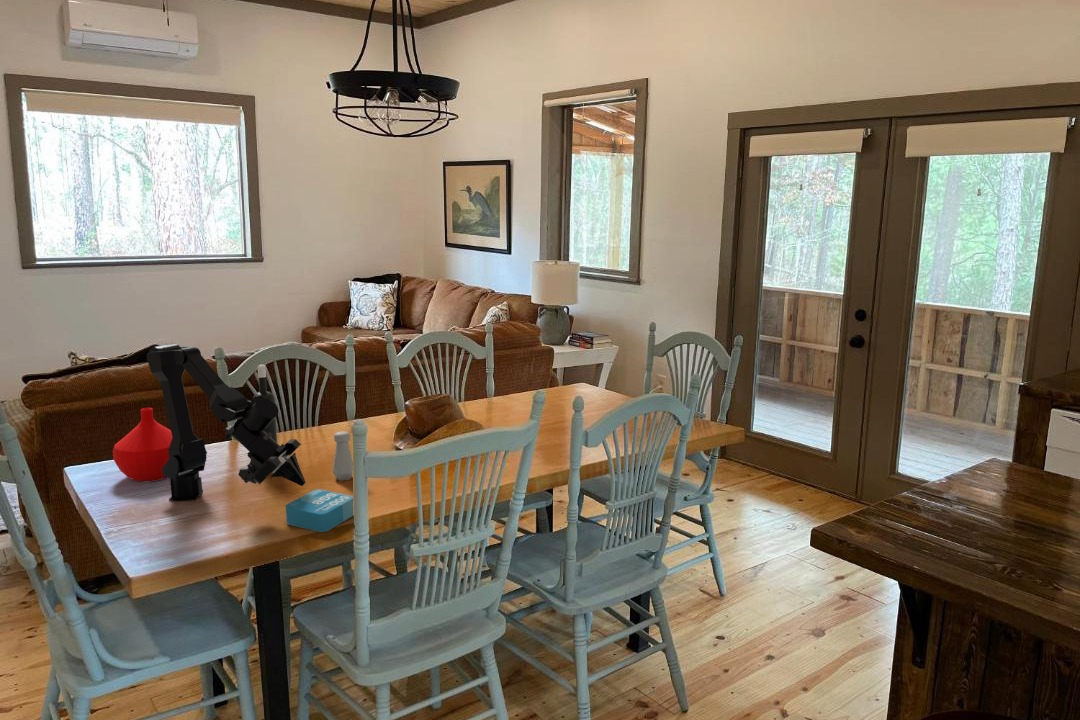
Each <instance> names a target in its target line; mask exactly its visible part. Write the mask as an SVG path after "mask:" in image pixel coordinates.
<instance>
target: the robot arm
mask: <svg viewBox="0 0 1080 720" xmlns="http://www.w3.org/2000/svg"><path fill="white" fill-rule="evenodd" d="M146 362H147V363H148V366H149V370H150V373H151V374H152V375H153V376H154V377H155V378H156V379H157V380H158V381H159V382H160V386H161V392H162V396H163V401H164V405H165V409H166V415H167V418H168V423H169V427H170V428H169V429H170V430H171V433H172V441H171V443H170V446H169V449H168V453H169V460H168V461H167V463H166V464H165V465H164V467H163V468H162V471H163V475H164V477H167V478H166V479H169V483H170V485H169V486H170V495H171V496H170V497H169V498H168V501H170V502H175V501H179V502H180V501H182V502H183V501H196V500H197V498H198V497H200V495H201V494H202V493H204V490H203V481H202V477H201V476H200V472H203V471H205V467H206V462H207V454H208V452H207V449H206V444H205V440H204V439H203V438H199V437H198V436H197V435H196V434H195V433H194V429H193V424H192V420H191V415H190V411H189V407H188V401H187V397H186V392H185V387H184V383H183V377H184V376H183V375H184V373H185V371H186V373H188V375H189V376H190V377H191V378H192V379H193V380H194V382H195V384H197V385H198V387H200V389H201V391H202V392H203V393H204V394H205V395H206V396H207V398H208V400H209V408H210V411H211V412H212V413H213V415H214V417H215V418H216V420H217V421H218V422H219V423H222V424H223V423H229V422H233V421H235V422H234V423H233V424H229V425H228V426H227V427H226V428H225V429H224V430H225V440H227V441H229V440H230V439H231V438H234V439H235V440H237V442H239V444H241V445H242V446H243V447H244V448H245V449H246V450H247V451H248V452H247V453H246V454H247V457H248V458H249V460H250V461H249V463H247V466H242V467H241V468H240V470H239V471H238V474H237V475H238V476H239V477H240V479H241V481H244V484H248V482H250V483H252V484H254V485H255V484H258V485H259V486H260V485H261V484H262V483H263V482H264V481H265V480H266V479H267V478H268V477H269V478H270V479H272V478H279V477H280V478H283V479H285V480H288V481H290V482H292V483H294V484H295V485H297V486H301V487H303V486H304V485H305V484H306V479H305V477H304V475H303V472H302V470H301V468H300V464H299V462H298V457H297V456H296V455H297V453H296V452H295V451H296V450H297V449H298V448H299V447H300V446H301V445H302V444H301V443H300V441H298V440H297V439H296V438H290V439H289V440H288V441H287V442H286V443H281V444H279V443H278V441H277V442H275V441H274V440H273V439H272V438H271V436H272V435H273V434H272V433H270V432H269V433H268V434H267V433H266V432H265V431H263V430H265V429H266V427H267V426H268V425H269V424H270V423H271V422H272V421H273V420H274V419H275V418H277V416H278V415H279V408H278V405H277V404H276V402H275V403H273V402H272V401H270V400H268V399H264V398H263V396H262V395H258V396H255V397H254V398H253V397H252V398H251V400H249V399H247V398H246V396H245V395H243V394H242V393H241V392H240V391H239V390H238V389H235V388H233V387H230V386H228V385H227V384H226V383H225V382H224V380H223V379H222V378H221V377H220V376H219V374H218V373H217V372H216V371H215V369H214V368H213V367H212V366H211V365H210V364H209V363H208V362H207V361H206V359H205V358H204V357H203V355H202V352H201V350H200V348H198V347H195V346H180V345H179V344H178V343H170V344H169V343H168V344H164V345H157V346H153V347H151V348H149V350H148V353H146ZM270 474H272V475H270ZM269 475H270V476H269Z"/></svg>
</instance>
